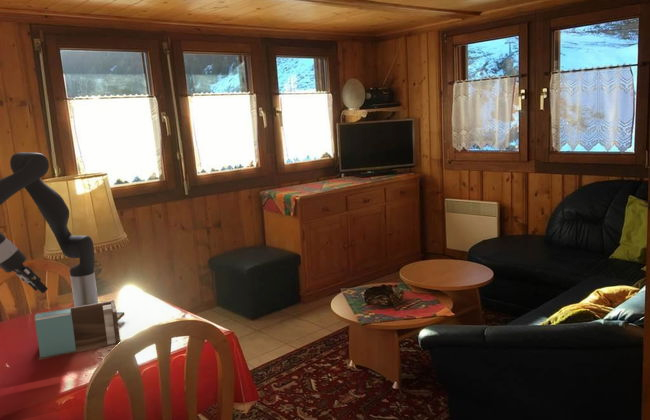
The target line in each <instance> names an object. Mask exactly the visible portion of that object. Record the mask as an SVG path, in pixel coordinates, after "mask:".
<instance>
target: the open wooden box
mask: <svg viewBox="0 0 650 420" xmlns="http://www.w3.org/2000/svg"><path fill="white" fill-rule="evenodd" d="M66 309H71V315H72V322H73V329H74V337H75V344H76V351H72V352H67V353H62V354H57V355H52V356H47V357H42V358H40V352H39V355H38V360H39V361H40V360H44V359H46V360H47V359H50V358H51V359H52V358H55V357H60V356H65V355H69V354H70V355H71V354H74V353H80V352H85V351H90V350H91V351H92V350H95V349H99V348H106V347H110V346H116V345H119V344H118V343H119V342H120V343H121V339H120V338H121V336H120V330H119V320H118V319H117V312H118V310H117V307H116V303H115V300H114V299H113V300H108V301H102V302H98V303H95V304H89V305H83V306H77V307H74V306H72V307H67V308H61V309H60V308H59V309H55V310H49V311H43V312H37V313H35V315H37V314H43V313H49V312H55V311H60V310H66Z"/></svg>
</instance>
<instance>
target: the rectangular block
mask: <svg viewBox="0 0 650 420" xmlns="http://www.w3.org/2000/svg"><path fill="white" fill-rule="evenodd" d="M65 309H66V308H65ZM59 310H60V309H59ZM34 323H35V324H34V325H35V331H36V338H37V344H38V351H39V353H40V358H42V357H47V356H52V355H57V354H62V353H67V352H72V351H76V344H75V337H74V329H73V322H72V315H71V309H66V310H60V311H55V312H49V313H43V314H37V315H36V314H35V315H34Z"/></svg>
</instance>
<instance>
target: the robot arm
mask: <svg viewBox="0 0 650 420" xmlns="http://www.w3.org/2000/svg"><path fill="white" fill-rule="evenodd" d="M9 164H10V165H9V166H10V169H11V171H12V174H10V175H8V176H6V177H3V178H1V179H0V206H2V205H3V204H4V203H5V202H7V200H8V199H10V198H11V197H13V196H14V195H15V194H16V193H18V192H19V191H21V190H23V189H25V190H26V192H27V193H28V194H29V196H30V198H31V199H32V200H33V202H34V203H35V206H36V207H37V209H38V210H39V212H40V213H41V215H42V217H43V218H44V220H45V221H46V223H47V224H48V226H49V228H50V229H51V232H52V233H53V235H54V237H55V239H56V242H57V243H58V245H59V246H58V247H59V249H60V251H62V253H63V255H64V256H65V257H66V258H70V259H79V263H78V264H76V265H74V266H72V267H70V269H69V278H70V283H71V290H72V291H71V292H72V299H73V304H74V305H73V307H77V306H83V305H89V304H95V303H99V298H98V297H99V296H98V291H97V282H96V274H95V263H96V261H95V248H94V242H93V239H92V237H91V236H90V235H74V234H72V233H71V232H70V230H69V228H68V222H69V220H70V209H69V207H68V205H67V203H66V202H65V200H64V197H62V195H61V194H59V192H58V191H56V190H54V189H53V188H52V187H50V186H49V185H48V184H46V183H45V182H44V181H43V180H42V179H41V178H43V177H44V176H45V175H46V174H47V173H48V171H49V168H50V161H49V160H48V157H47V156H46V155H44V154H43V153H40V152H27V151H23V152H16V153H14V154H12V156H11V157H10V161H9ZM26 260H27V256H26V255H25V254H24V253H23V252H22V251H21V250H20V249H19V248H18V247H17V246H16V245H15V244H14V243H13V242H12V241H11V240H9V239H8V238H7V237H6V236H5V235H4V234H3V233H2V232H1V231H0V268H1V269H2V270H4V272H5V273H6V274H8V273H9V274H10V273H12V272H14V273H15V276H17V277H18V278H19V279H20V280H21V281H23V282H24V283H26V284H28V285H29V286H30V287H31V288H32V289H33V290H34V291H39V292H40V293H42V294H44V293H45V292H47V291H48V287H47V285H45V284H44V283H43V282H42V281H41V277H40V276H39V275H37V274H36V273H35V272H34V271H33V270H32V269H31V267H30V266H28V265H24V263H25V262H26Z"/></svg>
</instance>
